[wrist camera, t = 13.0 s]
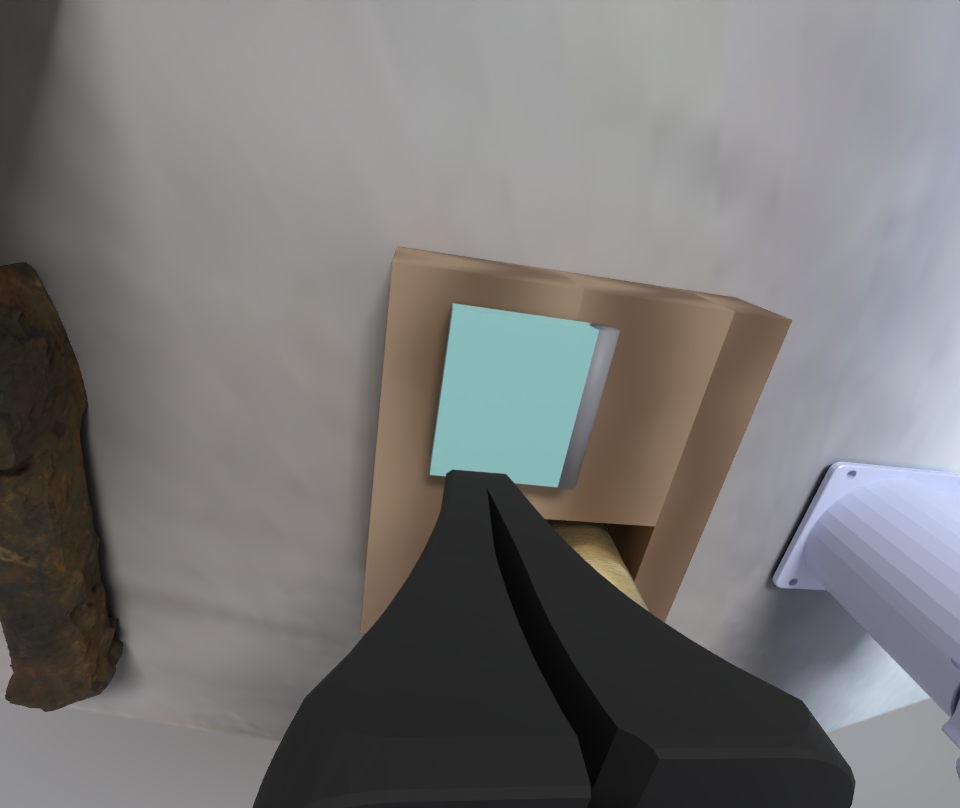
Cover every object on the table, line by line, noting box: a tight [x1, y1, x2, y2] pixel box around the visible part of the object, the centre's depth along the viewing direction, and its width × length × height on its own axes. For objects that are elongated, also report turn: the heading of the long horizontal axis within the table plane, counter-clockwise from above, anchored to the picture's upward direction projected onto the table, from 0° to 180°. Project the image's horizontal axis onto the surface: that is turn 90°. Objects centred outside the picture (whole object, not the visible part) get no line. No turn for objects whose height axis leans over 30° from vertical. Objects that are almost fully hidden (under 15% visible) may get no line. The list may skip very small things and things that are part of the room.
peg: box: [545, 519, 649, 611], centre depth 22 cm, size 4×4×7 cm
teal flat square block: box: [430, 303, 620, 490], centre depth 17 cm, size 6×6×1 cm
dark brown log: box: [0, 262, 123, 712], centre depth 19 cm, size 19×4×5 cm, turn 167°
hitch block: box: [360, 247, 792, 634], centre depth 21 cm, size 14×16×4 cm
